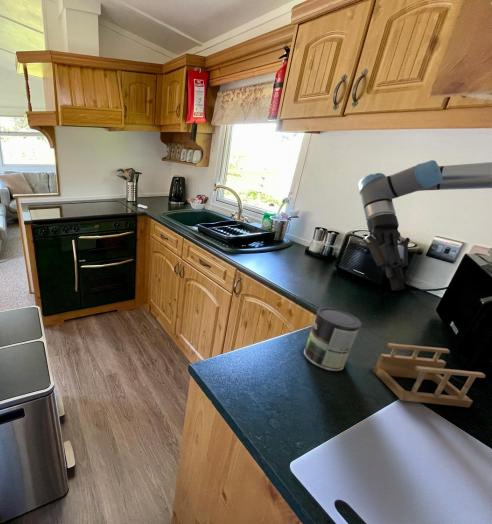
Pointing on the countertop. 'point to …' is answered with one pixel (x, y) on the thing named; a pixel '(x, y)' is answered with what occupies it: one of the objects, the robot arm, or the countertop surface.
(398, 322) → the countertop surface
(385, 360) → the rack
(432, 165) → the robot arm
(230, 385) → the countertop surface
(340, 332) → the coffee can
